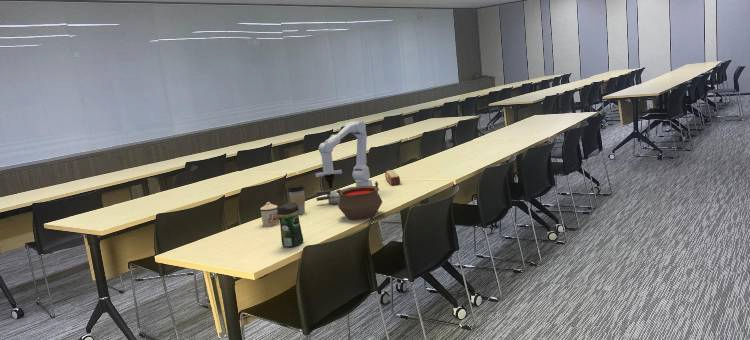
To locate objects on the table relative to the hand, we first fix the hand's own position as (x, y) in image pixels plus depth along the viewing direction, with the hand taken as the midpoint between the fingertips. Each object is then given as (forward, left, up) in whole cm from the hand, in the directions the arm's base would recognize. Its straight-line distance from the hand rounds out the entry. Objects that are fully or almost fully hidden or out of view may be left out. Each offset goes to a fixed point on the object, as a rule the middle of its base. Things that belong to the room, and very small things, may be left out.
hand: (330, 187), depth 323 cm
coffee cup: (+16, +14, -10) cm, 23 cm away
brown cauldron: (-21, +31, -10) cm, 39 cm away
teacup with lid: (+25, +32, -10) cm, 42 cm away
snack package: (-30, -50, -10) cm, 59 cm away
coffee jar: (+4, +72, -10) cm, 73 cm away
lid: (0, -5, -5) cm, 7 cm away
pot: (-1, -5, -10) cm, 11 cm away
